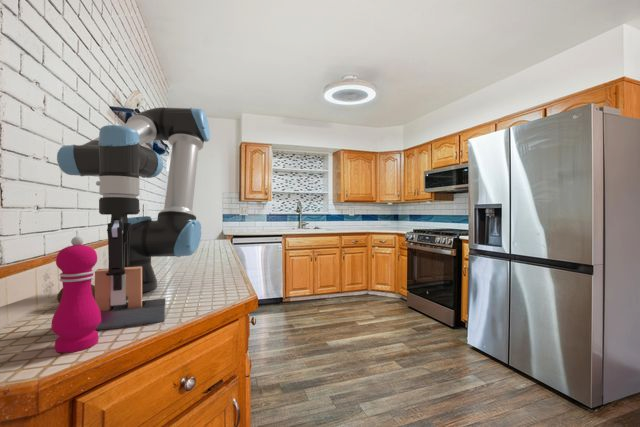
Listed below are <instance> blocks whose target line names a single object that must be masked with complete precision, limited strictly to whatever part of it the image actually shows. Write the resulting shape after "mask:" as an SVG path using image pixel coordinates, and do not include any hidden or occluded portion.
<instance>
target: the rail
mask: <svg viewBox="0 0 640 427" xmlns="http://www.w3.org/2000/svg"><path fill="white" fill-rule="evenodd" d="M100 312H101V323H100V324H99V325H98V327H97V328H96V329H95V331H104V330H110V329H117V328H118V329H119V328H126V327H132V326H141V325H148V324H156V323H164V322H165V320H166V298H165V297H164V298H155V299H154V298H153V299H146V300H142V307H134V308H128V301H126V304H123V305H114V306H111V310H107V311H100Z"/></svg>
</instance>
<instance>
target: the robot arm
mask: <svg viewBox="0 0 640 427" xmlns="http://www.w3.org/2000/svg"><path fill="white" fill-rule="evenodd" d="M210 132H211V131H210V124H209V122H208V118H207V115H206V113H205V110H202V109H201V108H193V107H189V108H187V107H185V108H184V107H163V106H162V107H154V108H150V109H146V110H143V111H141V112H138V113H136V114H134V115H132V116H130V117H128V119H127V121H126V123H124V124H121V125H116V124H111V125H109V124H108V125H103V126H102V127H100V128H99V133H98V134H99V136H98V137H96V138H94V139H92V140H89V141H88V142H86V143H83V144H79V145H78V144H70V145H67V144H66V145H63V146H61V147H60V148H59V149H58V150H57V151H58V152H57V154H56V161H57V164H58V167H59V170H61V171H62V172H63V173H64V174H66V175H69V176H79V177H99V179H98V181H96V182H95V186H99V188H98V189H99V190H98V191H99V192H98V193H99V195H100V196H102V197H100V198H99V199H98V214H100V215H103V216H104V215H107V216H108V215H109V216H111V217H110V223H107V228H106V232H107V246H108V247H107V249H108V251H107V252H108V256H107V258H108V268H107V269H109V270H108V272H109V273H106V276H111V306H114V305H123V304H126V302H127V301H128V296H127V297H126V274H124V273H125V267H140V266H142V294H143V293H147V291H148V292H151V291H154V290H156V289H158V280H157V277H156V273H155V271H154V268H153V265H152V257H158V258H159V257H162V258H163V257H175V258H176V257H177V258H180V257H187V256H188V257H189V256H191V255H192V256H193V254H195V253H196V251H197V250H198V248H199V245H200V242H201V239H202V225H201V222H200V221H199V220H197V216H196V214H195V213H194V212H193V205H194V196H195V187H196V175H197V167H198V159H199V158H198V156H199V151H201V150H202V149H203V148H204V142H205V143H207V142H210V139H211V133H210ZM155 141H167V142H168V144H169V145H171V152H170V159H169V170H168V177H167V183H166V184H167V185H166V192H165V198H164V199H165V200H164V206H163V209H162V210H160V211H159V212H158V213H157V217H156V218H157V219H156V220H153V219H152V217H151V216H150V215H149V216H148V215H147V216H134V217H129V216H128V215H139V214H140V199H139V198H137V197H138V196H140V178H142V179H143V178H144V179H145V178H147V179H150V178H151V179H153V178H155V177H158V176H159V175H160V174H161V173H162V172H163V169H164V161H163V158H162V157H161V155H160V154H159V153H157V152H156V151H155V150H154V149H151V148H150V147H146V146H143V144H149V143H152V142H155ZM155 288H156V289H155ZM153 289H154V290H153Z"/></svg>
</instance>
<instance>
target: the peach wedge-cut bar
mask: <svg viewBox="0 0 640 427" xmlns="http://www.w3.org/2000/svg"><path fill="white" fill-rule="evenodd" d="M108 270H109V269H108V268H98V269H96V270H94V286H95V301H96V303H97V305H98V307H99V309H100V311H107V310H111V276H106V273H109V272H108ZM124 274H126V297H127V296H128V300H127V302H128V308H134V307H142V301H143V293H142V266H140V267H125V273H124Z"/></svg>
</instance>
